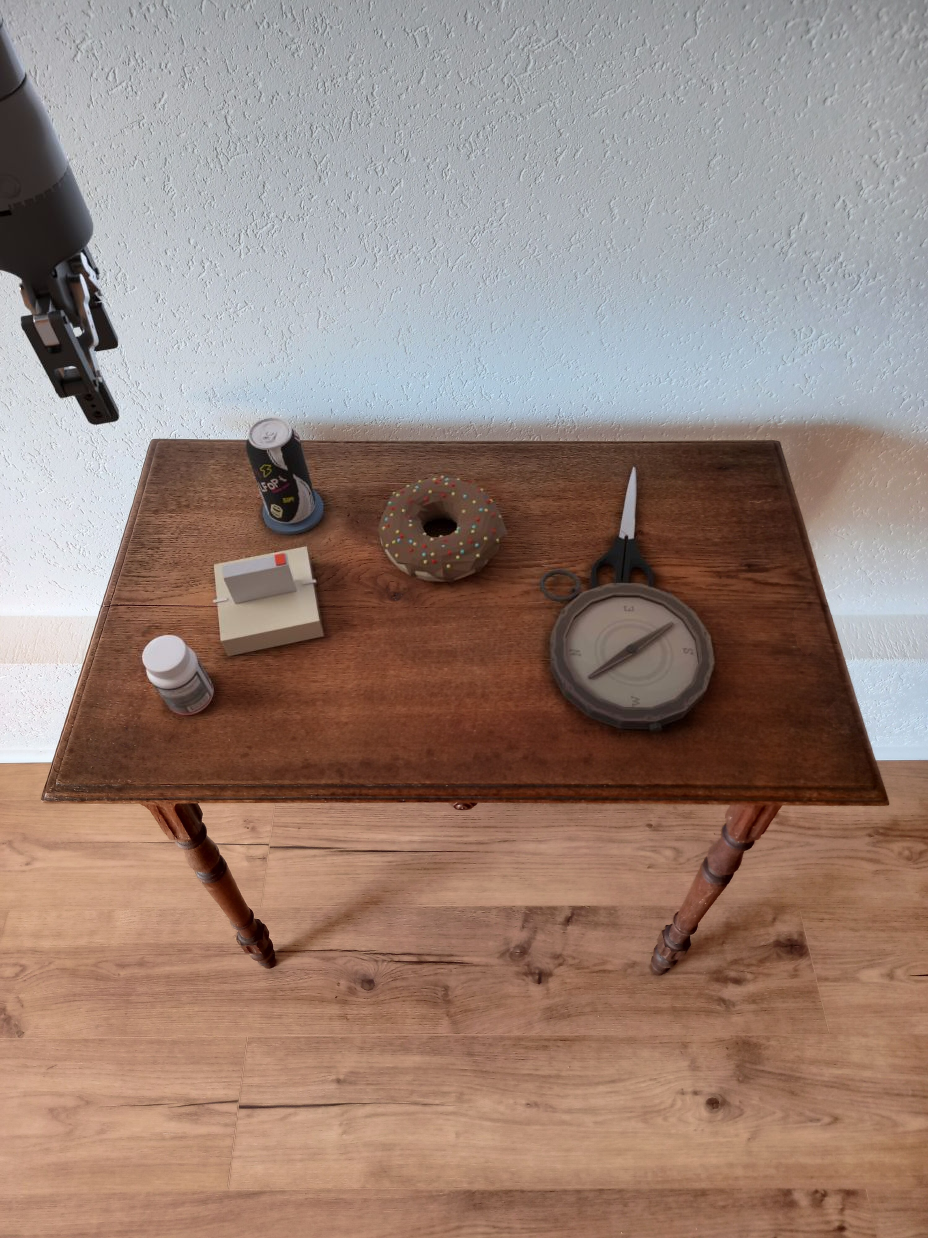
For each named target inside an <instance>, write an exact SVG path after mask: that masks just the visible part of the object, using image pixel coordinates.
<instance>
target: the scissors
mask: <svg viewBox="0 0 928 1238" xmlns="http://www.w3.org/2000/svg"><path fill="white" fill-rule="evenodd" d="M636 471H637V470H636V467H635V466H633V467H632V469H631V473H630V477H629V481H628V485H627V489H626V495H625V499H624V504H623V505H624V506H623V511H622V516H621V517H622V518H621V521H620V529H619V535H616V536H615V538H614V542H613V545H612V547H611V548H610V549H609V550H608V552H606V553H604V555H602V556H601V557H599V558H598V559H597V560H596V561H595V562H594V563H593V565H592V568H591V572H590V586H591V589H594V588H597V587H599V584H598V581H597V577H596V575H597V571H598V569H599V568H600V567H601V566H603V565H610V566H611V567H613V569H614V583H629V582H630V581H629V580H630V573H631V572H632V570H633V569H635V568H636V569H637V568H638V569H641V570H643V571H644V572H645V574H646V576H647V586H650V587H653V588H654V581H655V580H654V579H655V577H654V571H653V569H652V567H651V565H649V564H648V562H647V561H646V560H645V559H644V558H643V555H642V554H641V553H640V550H639V546H638V538H637V537H635V529H636V527H635V526H636V506H637V504H636V503H637V472H636ZM625 537H627V539H625ZM625 544H626V545H625ZM622 574H623V575H622Z"/></svg>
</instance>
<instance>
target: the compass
mask: <svg viewBox="0 0 928 1238" xmlns="http://www.w3.org/2000/svg"><path fill="white" fill-rule="evenodd" d="M557 575H562V576H566V577H569V578H570V579H572V581H574V583H575V585H572V586H571V588H570V592H571V594H570V595H568V596H558V595H557V596H556V595H553V594H552V593H550V592H548V590H547V588H546V584H545V583H546V581H547V580H548V579H549V578H550V577H553V576H557ZM539 590H540V591H541V593H542V594H543V595H544V597H545V598H547V599H549V600H550V601H552V602H555V603H556V602H557V603H567V602H569V603H568V604H567V605H565V607H563V608H562V609H561V610H560V613H559V615H558V617H557V619H556V621H555V623H554V626H553V628H552V630H551V632H550V637H549V657H550V659H549V662H550V671H551V674H552V676H553V677H554V679H555V681H556V683H557V685H558V687H559V689H560V691H561V693H562V695H563V697H565V698H566V699H567V700H568V701H569V702H570V703H571V704H573V705H574V706H575V707H576V708H577V709H578V710H579V711H580V712H581V713H583V714H584V715H585V716H586V717H587V718H590V719H593V720H595V721H598V722H601V723H603V724H606V725H608V726H612V727H614V728H616V729H619V730H620V729H621V730H623V729H624V730H625V729H626V730H649V731H650V733H651V734H656V733H658V732H661V731H662V729H663V728H662V726H665V725H667V724H671V723H673V722H676V721H678V720H680V719H683V718H684V717H685V716H686V715H687V714H688V713H689V712H690V711H691V710H692V709H693V708H694V707H695V706H696V705H697V704H698V703H699V702H700V701H701V700H702V699H703V698H704V695H705V693H706V692H707V689H708V685H709V684H710V683H709V682H710V680H711V676H712V673H713V670H714V667H715V664H716V662H715V657H714V649H713V644H712V637H711V634H710V633H709V631H708V630H707V628H706V626H705V625H704V624H703V622H702V621H701V619H700V618H699V616H698V614H697V613H696V611H695V610H693V609H692V608H690V606H688V605H687V604H685V603H684V602H682V601H681V600H680V599H679V598H677V597H676V596H675V595H673V594H672V593H670V592H668V591H664V590H661V589H658V588H656V587H654V586H653V587H650V586H648V584H644V583H641V582H638V583H635V582H633V583H632V582H628V583H615V582H609V583H606V584H603V585H600V586H598V587H597V588H594V589H592V588H590V589H588V590H585V591H583V589H582V582H581V580H580V579H579V577H578V576H577V574H575V573H573V572H572V571H570V570H566V569H561V568H558V569H551V570H549V571H548V572H545V573H544V574H543V575H542V577H541V579H540V581H539Z"/></svg>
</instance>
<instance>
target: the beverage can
mask: <svg viewBox="0 0 928 1238" xmlns="http://www.w3.org/2000/svg"><path fill="white" fill-rule="evenodd" d="M303 448H304V447H303V445H302V440H301V437H300V435H299V433H298V432H297V431H296V429H295V428H293V427H292V426H291V424H290V423H289V422H288V421H287V420H285V419H283V418H280V417H275V416H274V417H265V418H262V419H259V420H257V421H256V422H254V423H253V424H252V425H251V426H250V428H249V429H248V432H247V439H246V442H245V450H246V454H247V457H248V459H249V463H250V466H251V469H252V472H253V475H254V479H255V481H256V484H257V487H258V490H259V494H260V496H261V499H262V502H263V506H264V505H265V508H266V511H267V513H268V515H269V516H270V517H271V518H272V519H273V520H275V521H277V522H280V523H287V524H288V523H296V522H299V521H302V520H303V519H305V518H307V517H308V516H309V515H310V514H311V513H312V512H313V510H314V508H315V503H316V500H315V496H314V492H313V490H314V488H313V485H312V480H311V476H310V473H309V469H308V464H307V460H306V457H305V453H304V449H303Z"/></svg>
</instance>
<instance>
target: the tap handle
mask: <svg viewBox="0 0 928 1238" xmlns="http://www.w3.org/2000/svg"><path fill="white" fill-rule="evenodd" d="M222 572H223V579H224V581H225V583H226V586H227V588H228V590H229V592H230V595H231V597H232V599H233V601H234V603H240V602H245V601H250V600H255V599H260V598H265V597H269V596H274V595H279V594H284V593H289V592H294V591H297V588H296V582H295V577H294V574H293V571H292V568H291V565H290V562H289V559H288V556H287V553H281V554H276V555H274V556H269V557H264V558H259V559H254V560H250V561H245V562H240V563H235V564H230V565H225V566H222Z"/></svg>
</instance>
